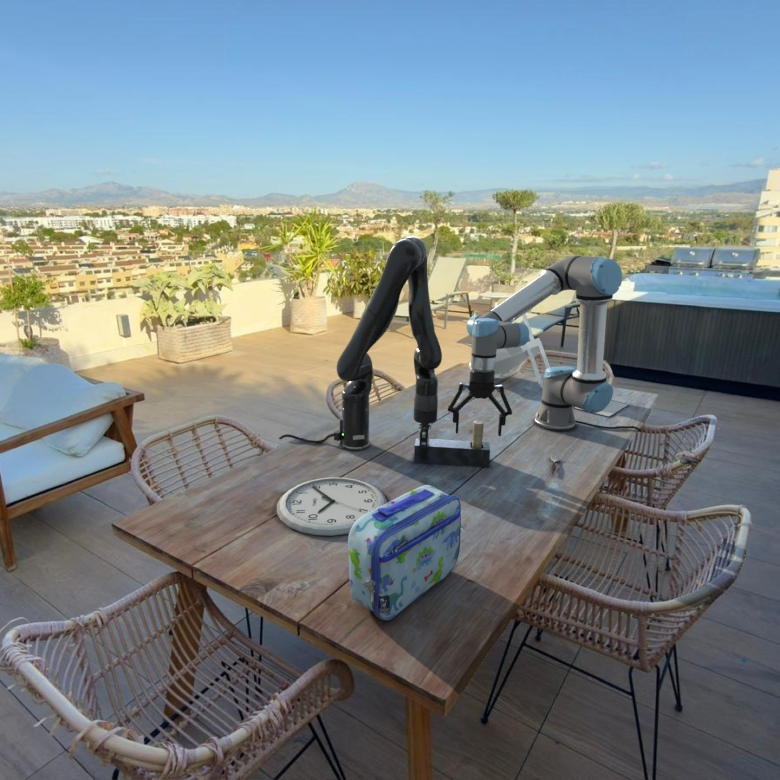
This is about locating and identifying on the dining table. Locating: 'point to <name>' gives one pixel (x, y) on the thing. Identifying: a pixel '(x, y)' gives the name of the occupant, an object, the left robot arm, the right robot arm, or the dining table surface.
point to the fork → (554, 461)
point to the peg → (477, 434)
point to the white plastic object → (520, 355)
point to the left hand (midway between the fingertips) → (423, 454)
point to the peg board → (453, 453)
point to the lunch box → (403, 549)
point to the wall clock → (328, 505)
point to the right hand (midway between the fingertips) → (477, 433)
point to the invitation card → (610, 408)
